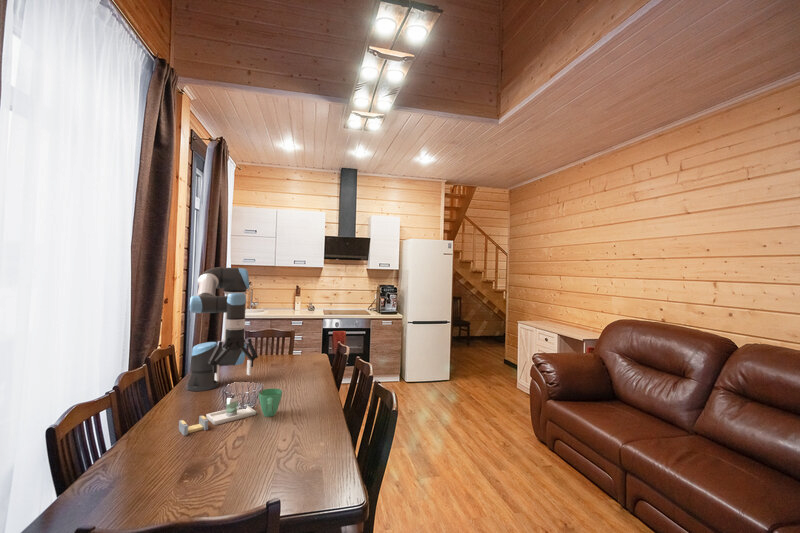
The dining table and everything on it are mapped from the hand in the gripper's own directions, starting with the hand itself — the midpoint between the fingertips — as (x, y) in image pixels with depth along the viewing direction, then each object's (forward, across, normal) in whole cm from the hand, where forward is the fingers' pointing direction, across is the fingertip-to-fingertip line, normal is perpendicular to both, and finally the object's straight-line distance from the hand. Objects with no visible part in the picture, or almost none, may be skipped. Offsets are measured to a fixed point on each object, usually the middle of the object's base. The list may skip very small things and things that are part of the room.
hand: (233, 377), depth 156 cm
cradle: (+16, -16, -4) cm, 23 cm away
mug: (+17, +12, -11) cm, 23 cm away
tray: (+17, 0, 0) cm, 17 cm away
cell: (+16, 0, 0) cm, 16 cm away
